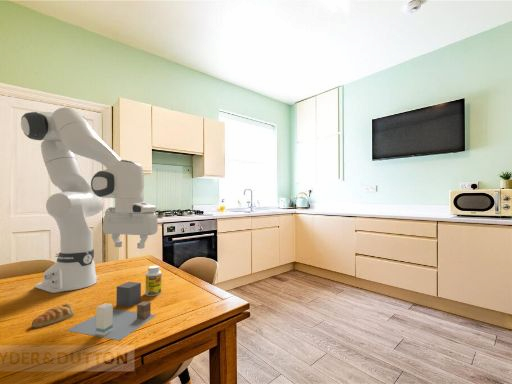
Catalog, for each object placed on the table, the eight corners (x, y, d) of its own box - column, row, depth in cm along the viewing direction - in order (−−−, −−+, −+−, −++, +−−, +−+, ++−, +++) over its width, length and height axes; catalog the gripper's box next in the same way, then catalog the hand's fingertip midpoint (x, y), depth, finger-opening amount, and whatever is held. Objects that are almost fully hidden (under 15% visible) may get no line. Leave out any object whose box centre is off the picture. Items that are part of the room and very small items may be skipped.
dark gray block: (116, 306, 82) (116, 286, 83) (128, 300, 87) (128, 281, 88) (129, 308, 81) (129, 288, 81) (140, 302, 86) (140, 282, 86)
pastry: (40, 332, 67) (40, 317, 67) (25, 327, 70) (25, 313, 70) (76, 316, 76) (76, 304, 76) (62, 313, 78) (62, 301, 78)
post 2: (137, 318, 73) (137, 304, 73) (143, 314, 76) (143, 301, 76) (144, 319, 73) (144, 305, 73) (150, 315, 75) (150, 302, 75)
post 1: (96, 334, 65) (96, 307, 65) (104, 329, 67) (105, 303, 68) (104, 335, 64) (104, 308, 64) (112, 330, 67) (112, 304, 67)
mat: (65, 331, 67) (65, 330, 67) (109, 309, 80) (109, 308, 80) (119, 342, 62) (119, 340, 62) (156, 316, 75) (156, 315, 75)
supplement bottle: (146, 298, 89) (147, 269, 90) (144, 293, 94) (144, 266, 94) (162, 294, 93) (163, 267, 93) (159, 290, 97) (159, 264, 97)
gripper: (97, 207, 85) (97, 248, 85) (147, 207, 79) (147, 250, 79) (113, 207, 91) (112, 244, 91) (160, 206, 85) (160, 247, 85)
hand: (129, 247), depth 85 cm, fingers open, 8 cm apart
